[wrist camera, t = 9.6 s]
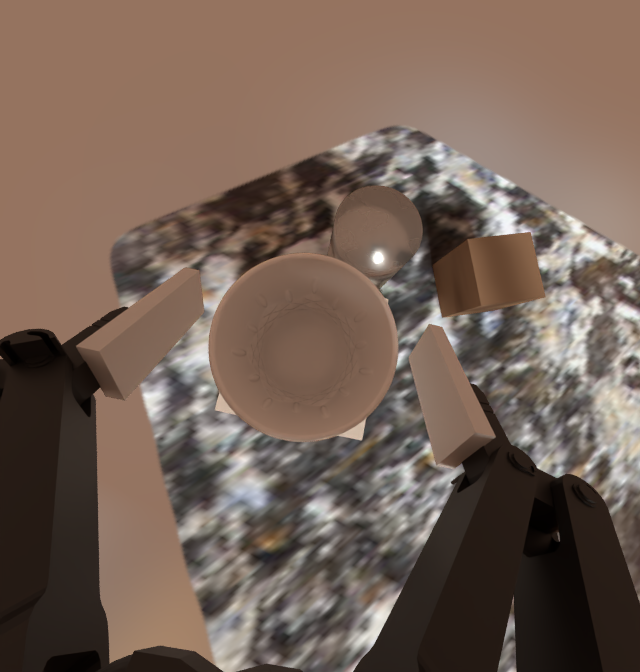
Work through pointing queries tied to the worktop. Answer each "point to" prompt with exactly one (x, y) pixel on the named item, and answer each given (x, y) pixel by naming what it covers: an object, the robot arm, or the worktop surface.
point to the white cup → (303, 347)
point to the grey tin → (376, 232)
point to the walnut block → (488, 275)
